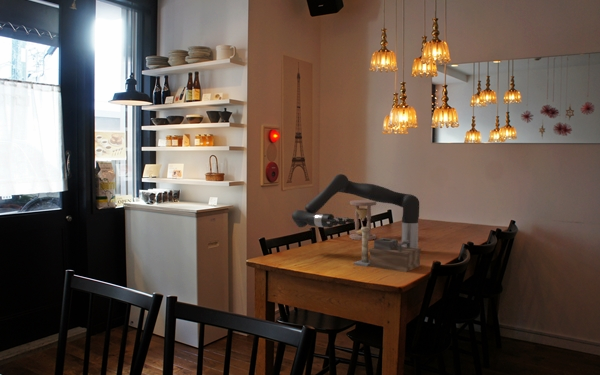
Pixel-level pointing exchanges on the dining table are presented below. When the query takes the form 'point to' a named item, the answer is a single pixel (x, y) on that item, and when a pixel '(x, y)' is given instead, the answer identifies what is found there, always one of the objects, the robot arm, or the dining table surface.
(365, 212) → the hourglass
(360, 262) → the mat
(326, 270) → the dining table surface
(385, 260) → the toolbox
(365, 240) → the pin
